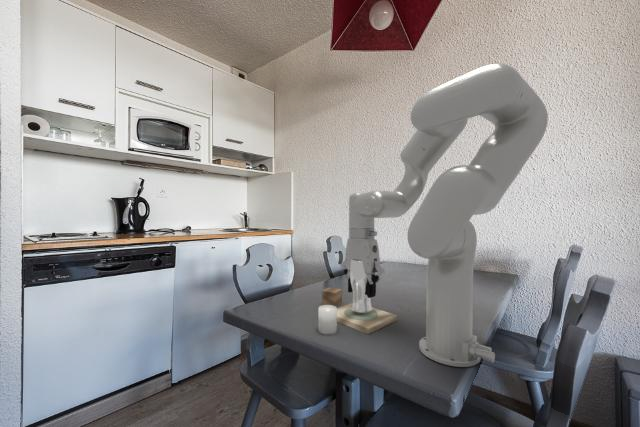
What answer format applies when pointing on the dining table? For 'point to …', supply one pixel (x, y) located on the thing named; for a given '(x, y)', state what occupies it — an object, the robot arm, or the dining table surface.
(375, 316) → the birch board
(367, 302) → the beer glass
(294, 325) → the dining table surface
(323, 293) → the walnut block
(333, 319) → the white short cylinder
